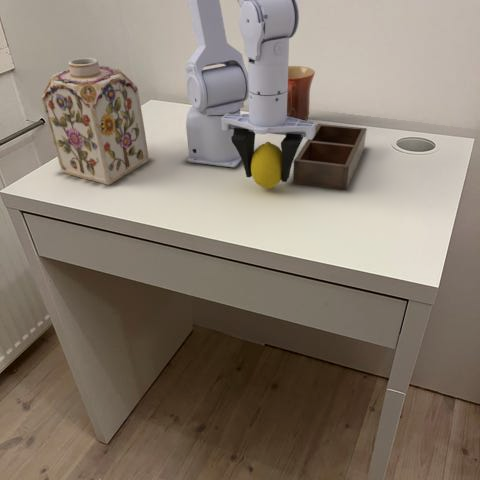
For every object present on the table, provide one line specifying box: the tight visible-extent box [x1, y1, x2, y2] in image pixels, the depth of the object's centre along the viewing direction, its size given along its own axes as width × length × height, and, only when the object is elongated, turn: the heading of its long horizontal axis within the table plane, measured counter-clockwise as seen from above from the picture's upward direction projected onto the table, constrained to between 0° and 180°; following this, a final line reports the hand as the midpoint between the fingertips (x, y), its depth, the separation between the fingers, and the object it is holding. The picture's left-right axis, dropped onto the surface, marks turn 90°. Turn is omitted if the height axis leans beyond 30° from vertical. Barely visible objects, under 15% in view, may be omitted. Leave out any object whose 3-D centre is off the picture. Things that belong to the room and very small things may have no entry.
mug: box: [287, 65, 316, 121], centre depth 101 cm, size 12×9×10 cm
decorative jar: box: [41, 57, 150, 186], centre depth 86 cm, size 12×12×18 cm
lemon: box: [251, 141, 282, 190], centre depth 81 cm, size 6×6×8 cm
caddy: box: [292, 123, 368, 191], centre depth 89 cm, size 9×17×4 cm, turn 160°
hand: (267, 176), depth 82 cm, fingers closed on lemon, 5 cm apart
